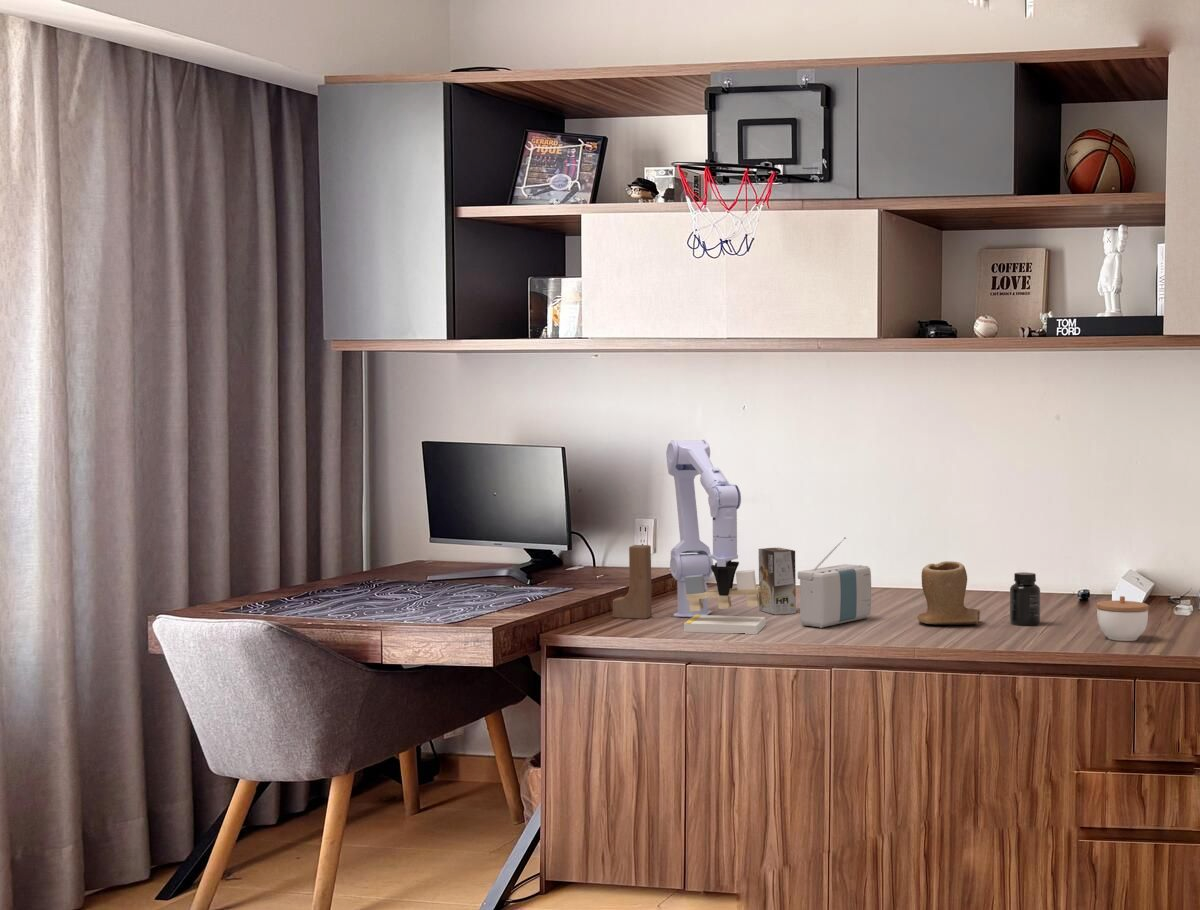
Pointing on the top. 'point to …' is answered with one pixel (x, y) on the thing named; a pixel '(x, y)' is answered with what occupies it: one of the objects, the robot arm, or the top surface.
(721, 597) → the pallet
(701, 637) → the top surface
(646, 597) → the wooden block
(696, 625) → the dock
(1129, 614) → the lidded jar
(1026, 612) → the supplement bottle
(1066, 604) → the top surface
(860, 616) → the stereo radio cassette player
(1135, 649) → the top surface
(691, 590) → the pale grey square box
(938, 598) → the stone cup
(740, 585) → the greyish beige cube
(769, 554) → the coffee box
